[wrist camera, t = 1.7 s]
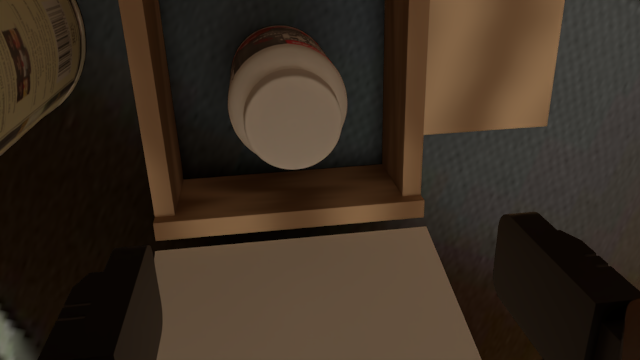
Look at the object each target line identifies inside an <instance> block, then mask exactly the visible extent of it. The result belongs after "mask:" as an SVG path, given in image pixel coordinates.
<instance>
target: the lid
mask: <svg viewBox="0 0 640 360" xmlns="http://www.w3.org/2000/svg"><path fill="white" fill-rule="evenodd" d="M154 263H155V269H156V275H157V281H158V286H159V292H160V298H161V304H162V315H163V325H162V334H161V339H160V344H159V349H158V354H157V359H156V360H481V357H480V355H479V353H478V350H477V348H476V345H475V343H474V340H473V338H472V336H471V333H470V331H469V328H468V326H467V324H466V321H465V319H464V316H463V314H462V312H461V309H460V307H459V304H458V302H457V300H456V297H455V295H454V292H453V290H452V287H451V285H450V283H449V280H448V278H447V275H446V273H445V271H444V268H443V266H442V263H441V261H440V259H439V256H438V254H437V251H436V249H435V247H434V244H433V242H432V239H431V237H430V234H429V232H428V230H427V227H415V228H404V229H393V230H382V231H371V232H360V233H349V234H338V235H327V236H316V237H305V238H294V239H283V240H272V241H261V242H250V243H239V244H228V245H217V246H206V247H195V248H184V249H173V250H162V251H155V258H154Z"/></svg>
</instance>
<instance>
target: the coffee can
mask: <svg viewBox="0 0 640 360" xmlns="http://www.w3.org/2000/svg"><path fill="white" fill-rule="evenodd" d="M85 53H86V38H85V30H84V24H83V20H82V16H81V13H80V9H79V7H78V5H77V2H76V0H0V156H1V155H2V154H3V153H4V152H5V151H6V150H7V149H8V148H10V147H11V146H12V145H13V144H14V143H15V142H17V141H18V140H19V139H20V138H21V137H22V136H23V135H24V134H25V133H26V132H27V131H28V130H29V129H31V128H32V127H33V126H34V125H35V124H36V123H37V122H38V121H39V120H41V119H42V118H43V117H44V116H45V115H47V114H49V113H50V112H51V111H53V110H54V109H55V108H56V107H58V106H59V105H61V103H62V102H63V101H64V100H65V99H66V98H67V97H68V96H69V95H70V93H71V92H72V91H73V89H74V87H75V86H76V84H77V82H78V80H79V77H80V75H81V72H82V69H83V65H84V61H85Z"/></svg>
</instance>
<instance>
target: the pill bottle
mask: <svg viewBox="0 0 640 360" xmlns="http://www.w3.org/2000/svg"><path fill="white" fill-rule="evenodd" d="M228 112H229V117H230V121H231V124H232V126H233V128H234V131H235V132H236V134H237V136H238V137H239V139H240V140H241V141H242V142H243V143H244V144H245V146H247V147H248V148H249V149H250V150H251V151H253V152H254V153H256V154H257V155H258V156H259V157H260V158H261V159H262V160H264V161H265V162H266V163H268V164H270V165H272V166H275V167H278V168H282V169H290V170H296V169H303V168H307V167H310V166H312V165H315V164H317V163H318V162H320V161H322V160H323V159H324V158H325V157H326V156H328V155H329V154H330V152H331V151H332V150H333V148H334V147H335V145H336V144H337V142H338V140H339V137H340V134H341V129H342V126H343V124H344V121H345V117H346V113H347V94H346V89H345V85H344V82H343V80H342V78H341V76H340V74H339V72H338V70H337V69H336V68H335V66H334V65H333V64H332V62H331V61H330V60H329V58H328V57H327V56H326V55H325V53H324V52H323V50H322V49H321V47H320V46H319V45H318V44H317V43H316V42H315V41H314V40H313V39H312V38H311V37H310V36H309V35H307V34H306V33H304V32H303V31H301V30H299V29H296V28H293V27H290V26H283V25H275V26H269V27H265V28H262V29H260V30H258V31H256V32H254V33H252V34H251V35H250V36H248V37H247V38H246V39H245V40H244V41H243V42H242V44H241V45H240V46H239V48H238V49H237V51H236V53H235V56H234V58H233V62H232V67H231V76H230V85H229V93H228Z"/></svg>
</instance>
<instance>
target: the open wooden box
mask: <svg viewBox="0 0 640 360" xmlns="http://www.w3.org/2000/svg"><path fill="white" fill-rule="evenodd" d="M118 1H119V7H120V13H121V19H122V25H123V31H124V37H125V43H126V49H127V55H128V61H129V66H130V72H131V78H132V84H133V90H134V96H135V102H136V108H137V114H138V120H139V126H140V132H141V138H142V143H143V149H144V155H145V161H146V167H147V173H148V179H149V185H150V191H151V197H152V203H153V209H154V215H155V219H154V222H153V227H154V233H155V238H156V241H161V240H173V239H184V238H195V237H206V236H218V235H229V234H240V233H251V232H263V231H274V230H285V229H296V228H307V227H319V226H330V225H341V224H352V223H364V222H375V221H386V220H397V219H409V218H420V217H424V199H423V198H422V196H421V175H422V154H423V133H424V113H425V92H426V71H427V51H428V30H429V9H430V0H385V20H384V80H383V139H382V164H378V165H365V166H352V167H339V168H326V169H314V170H301V171H288V172H275V173H262V174H249V175H236V176H223V177H211V178H198V179H185V180H184V179H183V172H182V165H181V157H180V150H179V143H178V136H177V129H176V122H175V115H174V108H173V101H172V94H171V86H170V79H169V72H168V65H167V58H166V51H165V44H164V37H163V30H162V23H161V16H160V8H159V1H158V0H118Z"/></svg>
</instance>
